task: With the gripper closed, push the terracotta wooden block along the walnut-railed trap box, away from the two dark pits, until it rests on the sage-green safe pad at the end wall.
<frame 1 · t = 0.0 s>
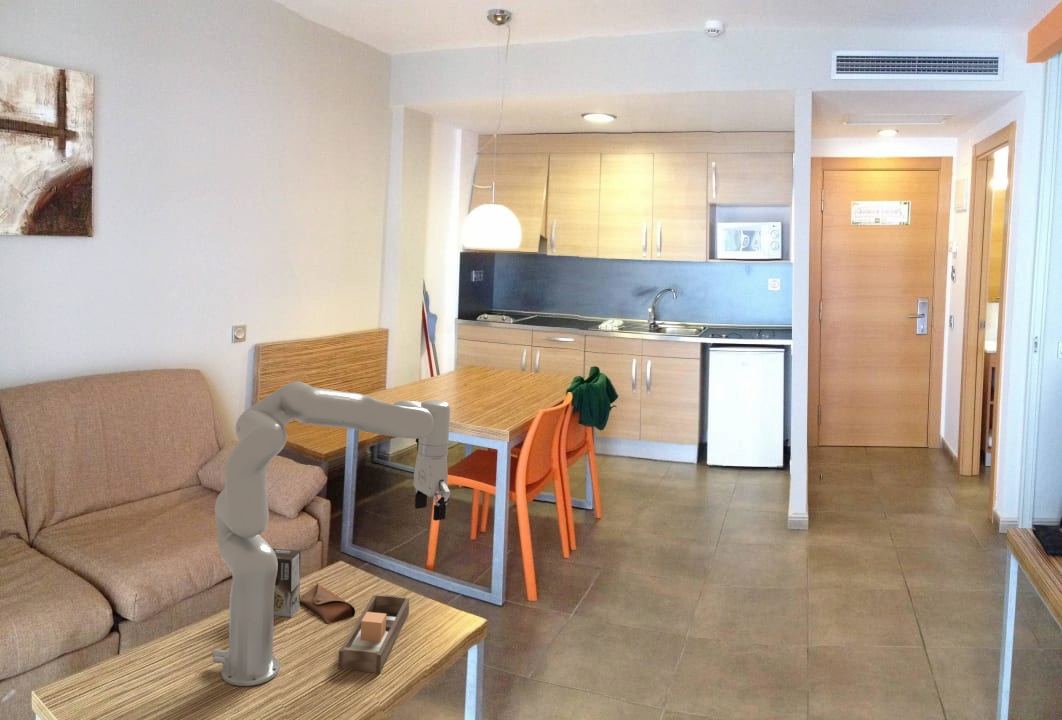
hand: (429, 513, 205), 31 cm above the table, tool pointing down, fingers open, 9 cm apart
trap box: (376, 639, 201), on the table
block: (373, 636, 198), point 2 cm above the table, touching trap box
coffee box: (279, 611, 213), on the table
sunglasses case: (323, 610, 216), on the table
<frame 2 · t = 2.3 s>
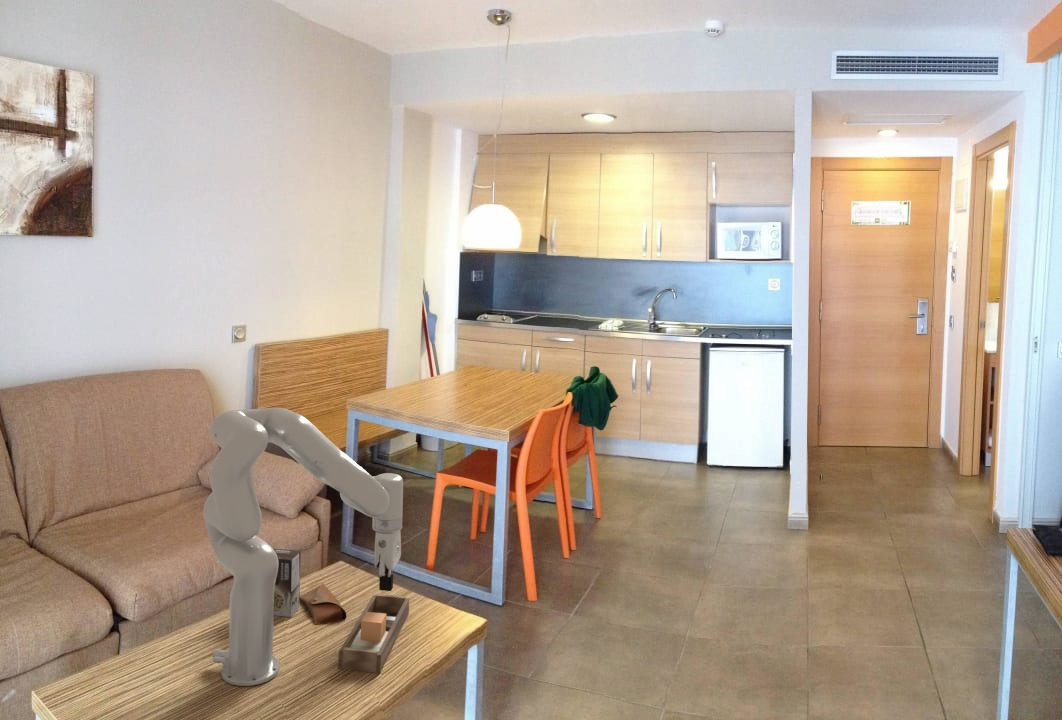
hand: (386, 589, 206), 11 cm above the table, tool pointing down, fingers closed
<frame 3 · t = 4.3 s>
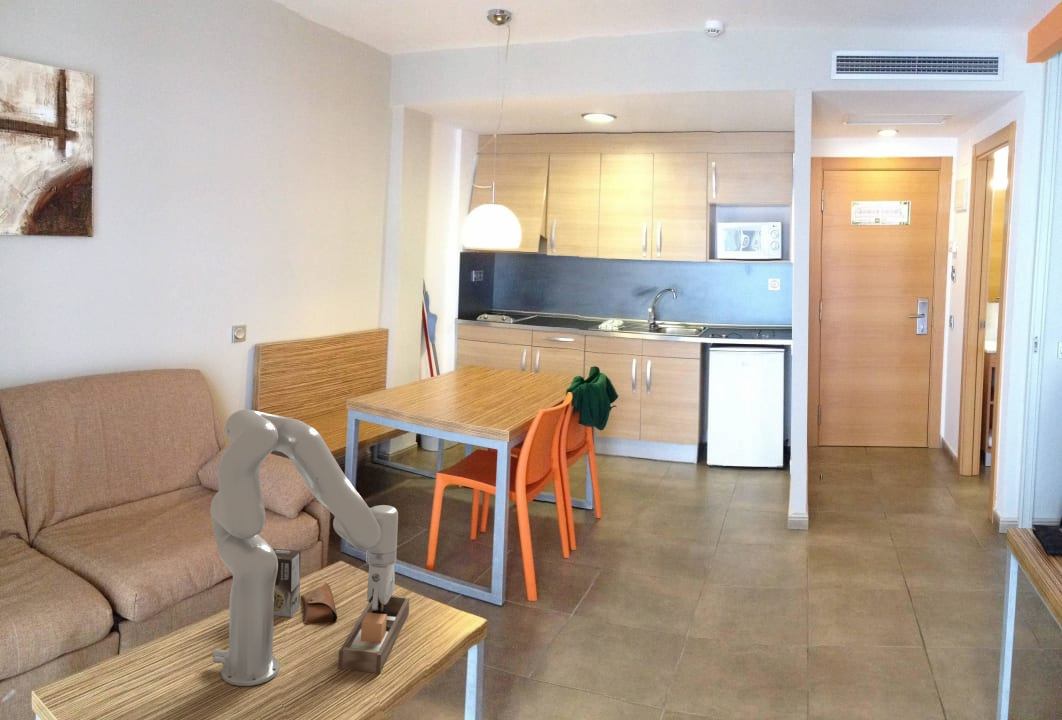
hand: (378, 623, 202), 4 cm above the table, tool pointing down, fingers closed
block: (373, 636, 197), point 3 cm above the table, touching gripper
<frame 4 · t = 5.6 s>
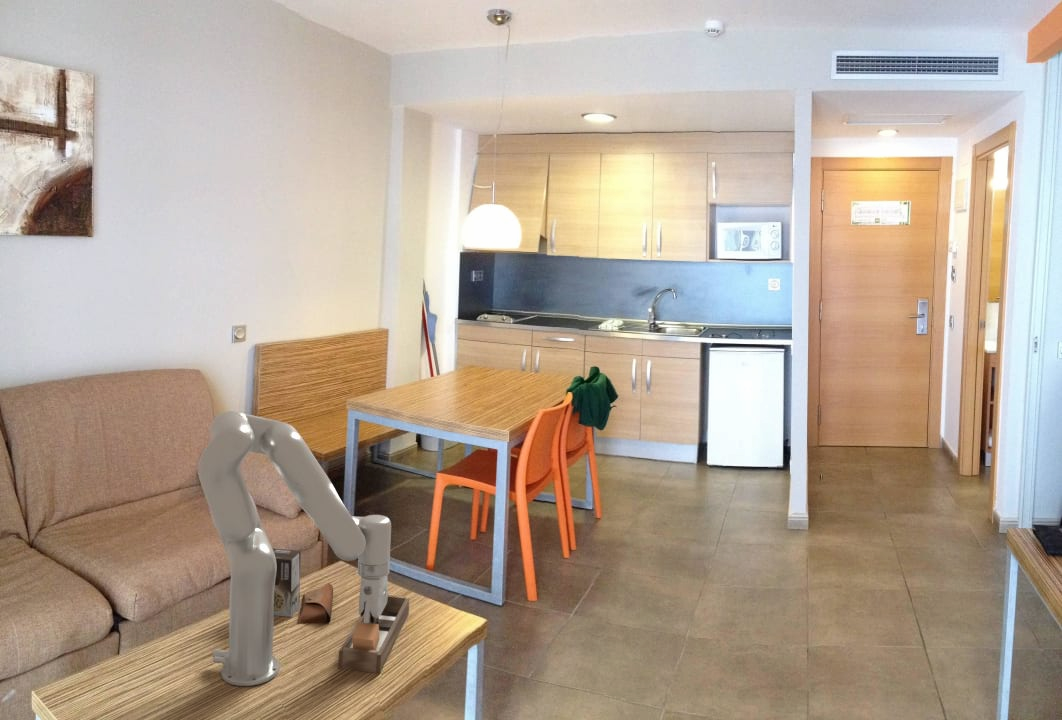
hand: (370, 637, 195), 4 cm above the table, tool pointing down, fingers closed
block: (366, 645, 191), point 3 cm above the table, tilted 19°, touching gripper, trap box
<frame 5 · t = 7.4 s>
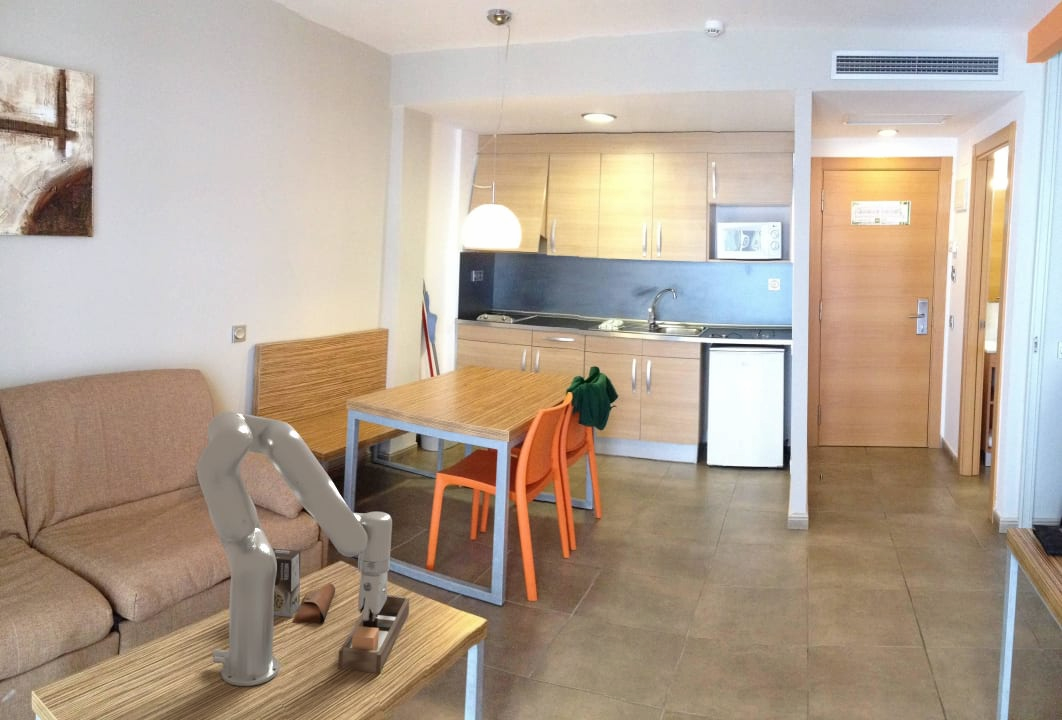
hand: (369, 634, 195), 4 cm above the table, tool pointing down, fingers closed
block: (365, 651, 190), point 2 cm above the table, touching trap box
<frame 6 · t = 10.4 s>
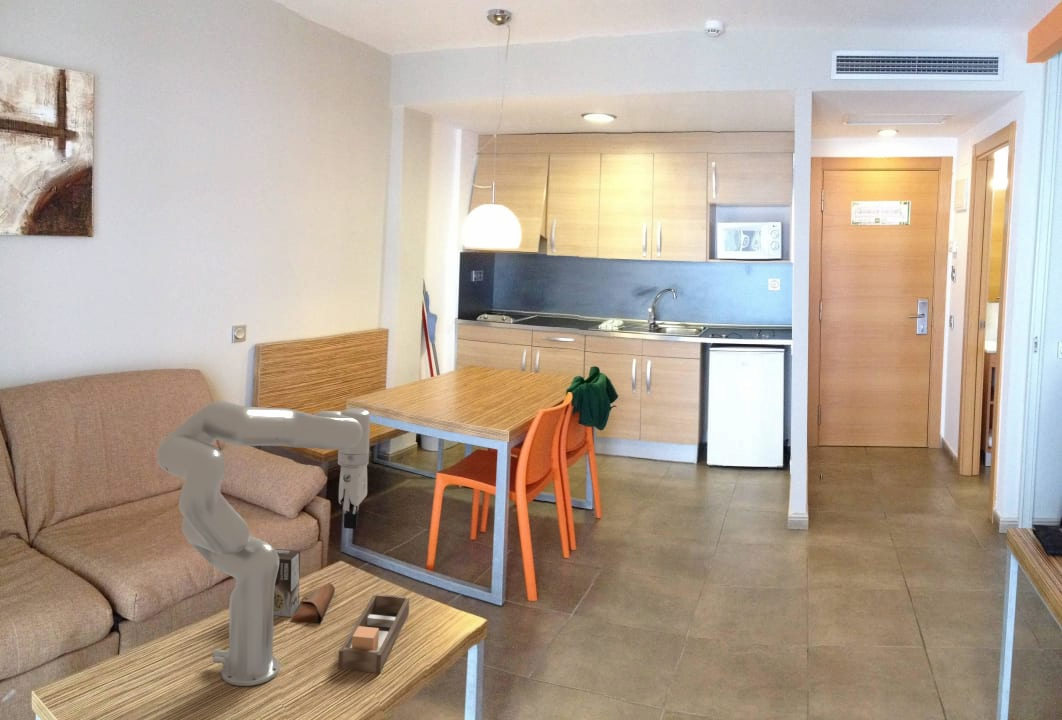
hand: (350, 527, 203), 27 cm above the table, tool pointing down, fingers closed
at the end: block 0.4 cm from the target spot on the trap box, point 2.5 cm above the trap box's base; block tilted 0°; block moved 7.6 cm from its start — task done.
